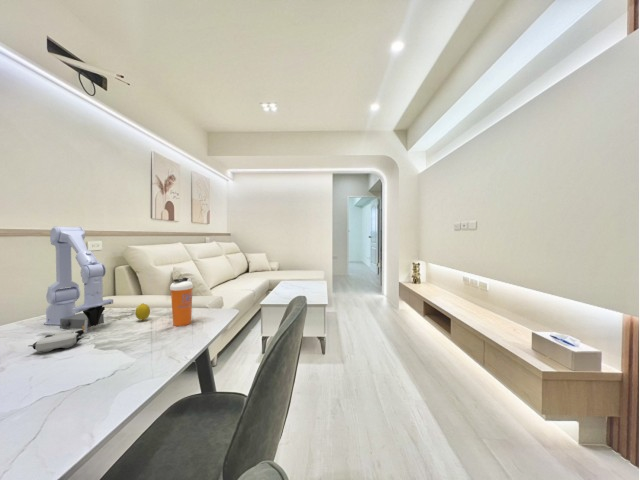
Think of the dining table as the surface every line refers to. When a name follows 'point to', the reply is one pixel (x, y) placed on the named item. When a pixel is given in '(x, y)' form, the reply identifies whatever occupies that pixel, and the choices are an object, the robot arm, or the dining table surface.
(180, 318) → the shaker bottle
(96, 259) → the robot arm
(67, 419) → the dining table surface
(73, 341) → the robot toy
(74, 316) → the case
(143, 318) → the lemon
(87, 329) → the door
